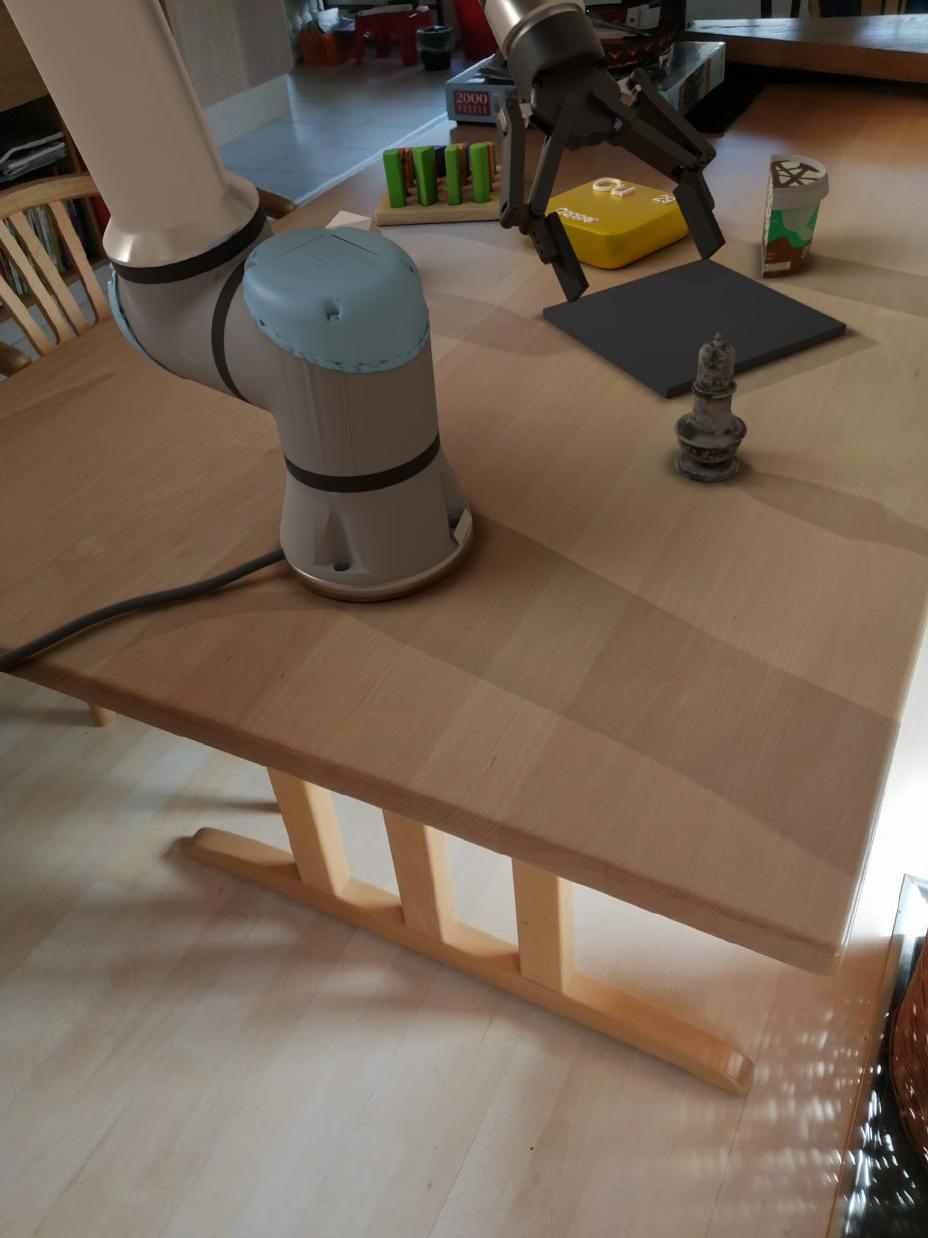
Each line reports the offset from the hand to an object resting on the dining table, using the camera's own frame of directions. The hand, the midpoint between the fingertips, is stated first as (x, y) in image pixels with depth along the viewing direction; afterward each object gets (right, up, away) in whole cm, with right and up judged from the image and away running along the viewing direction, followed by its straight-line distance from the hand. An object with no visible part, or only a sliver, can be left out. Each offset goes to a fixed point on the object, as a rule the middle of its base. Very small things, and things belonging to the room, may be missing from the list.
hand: (648, 273), depth 82 cm
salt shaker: (+5, -16, +3) cm, 17 cm away
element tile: (+3, +18, +42) cm, 46 cm away
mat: (+8, +2, +22) cm, 24 cm away
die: (-28, +11, +37) cm, 48 cm away
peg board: (-18, +30, +57) cm, 66 cm away
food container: (+22, +12, +32) cm, 41 cm away
